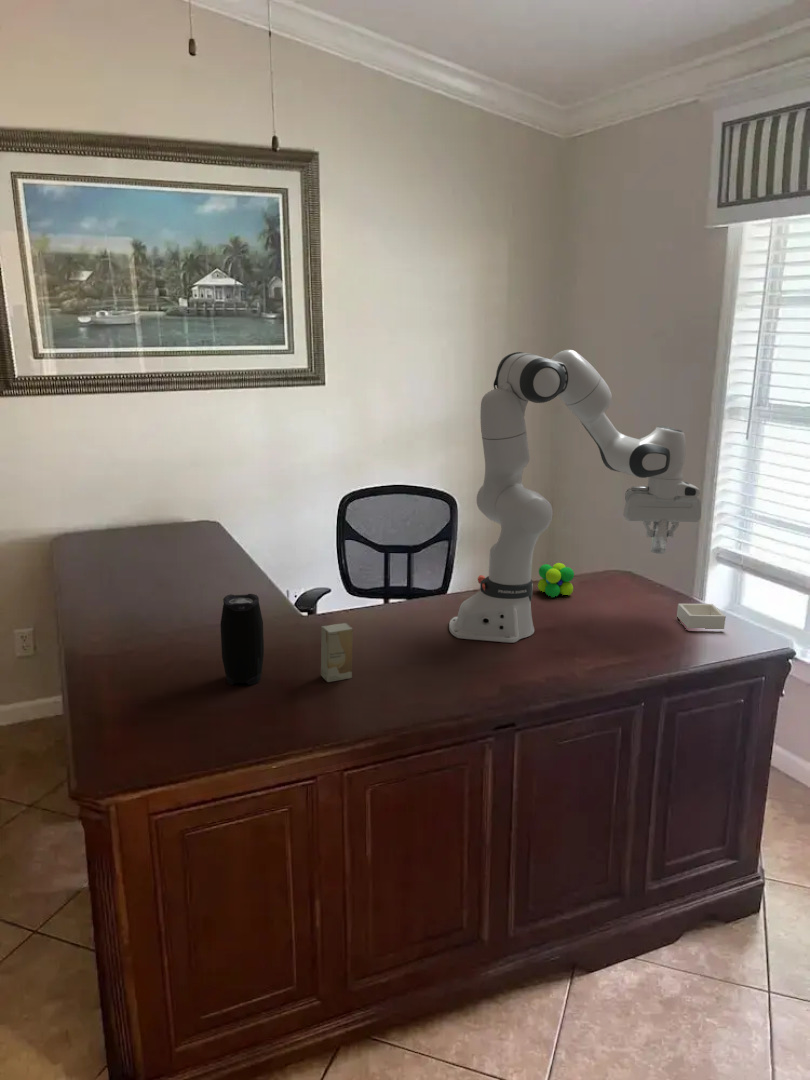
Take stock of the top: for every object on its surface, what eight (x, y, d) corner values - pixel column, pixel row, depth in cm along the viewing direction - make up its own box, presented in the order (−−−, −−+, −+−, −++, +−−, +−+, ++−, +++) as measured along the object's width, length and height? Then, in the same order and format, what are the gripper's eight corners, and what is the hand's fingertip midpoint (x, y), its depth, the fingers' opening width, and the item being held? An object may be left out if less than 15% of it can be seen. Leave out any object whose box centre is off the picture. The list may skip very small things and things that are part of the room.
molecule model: (549, 600, 252) (575, 597, 255) (550, 571, 250) (577, 568, 253) (534, 590, 260) (560, 588, 263) (536, 563, 258) (562, 560, 261)
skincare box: (327, 683, 195) (327, 632, 192) (320, 675, 199) (319, 626, 195) (353, 678, 198) (353, 628, 194) (345, 670, 201) (345, 621, 198)
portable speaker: (216, 678, 196) (212, 597, 191) (252, 668, 202) (250, 589, 197) (234, 691, 190) (231, 607, 185) (271, 680, 196) (269, 598, 190)
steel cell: (652, 553, 234) (656, 517, 231) (648, 549, 238) (652, 514, 235) (667, 553, 234) (671, 517, 231) (663, 549, 238) (666, 514, 235)
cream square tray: (687, 631, 229) (689, 615, 228) (676, 618, 239) (678, 603, 237) (723, 632, 229) (725, 616, 228) (711, 619, 239) (712, 604, 237)
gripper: (629, 488, 228) (624, 539, 231) (706, 490, 228) (700, 540, 232) (623, 484, 234) (618, 533, 237) (698, 485, 234) (692, 534, 238)
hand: (659, 536), depth 235 cm, fingers closed on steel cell, 4 cm apart
